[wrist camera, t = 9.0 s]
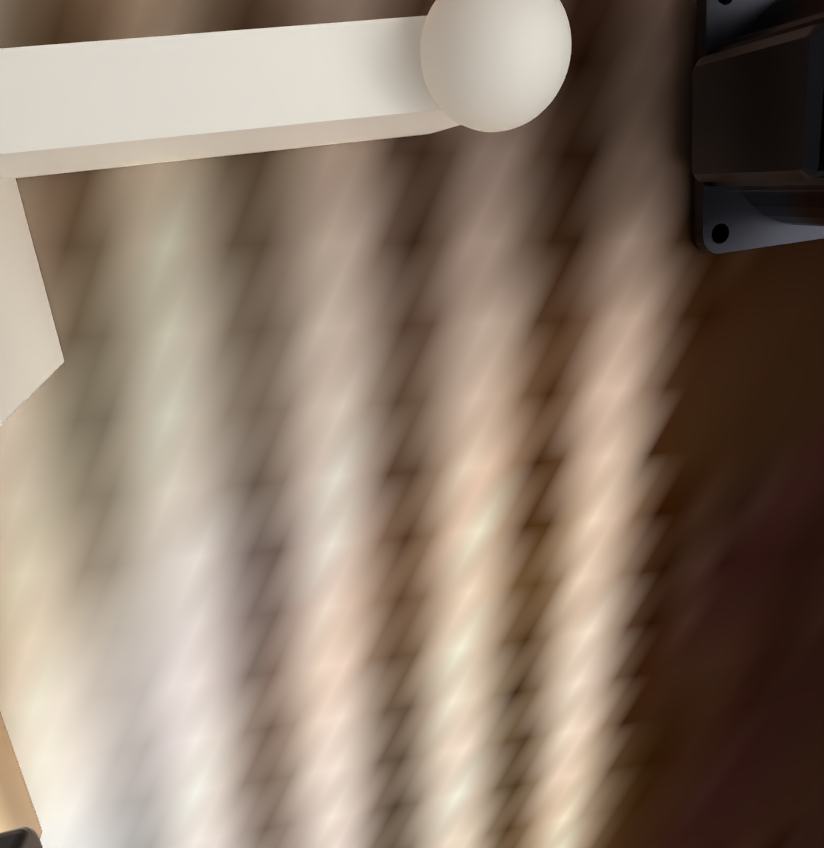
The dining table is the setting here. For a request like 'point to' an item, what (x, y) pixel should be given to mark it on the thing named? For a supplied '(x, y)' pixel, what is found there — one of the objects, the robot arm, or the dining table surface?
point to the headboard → (248, 113)
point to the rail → (14, 790)
